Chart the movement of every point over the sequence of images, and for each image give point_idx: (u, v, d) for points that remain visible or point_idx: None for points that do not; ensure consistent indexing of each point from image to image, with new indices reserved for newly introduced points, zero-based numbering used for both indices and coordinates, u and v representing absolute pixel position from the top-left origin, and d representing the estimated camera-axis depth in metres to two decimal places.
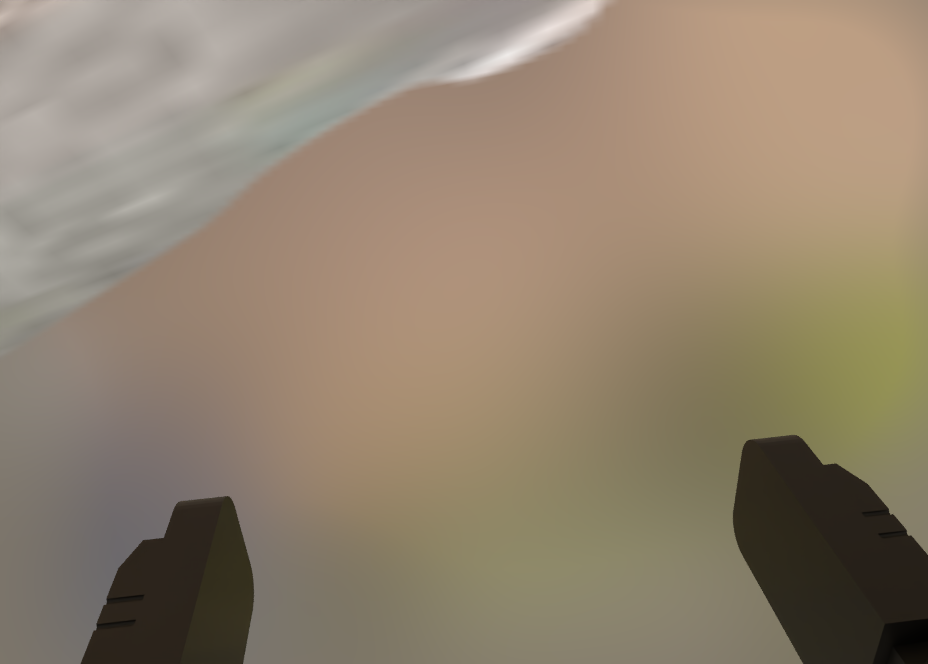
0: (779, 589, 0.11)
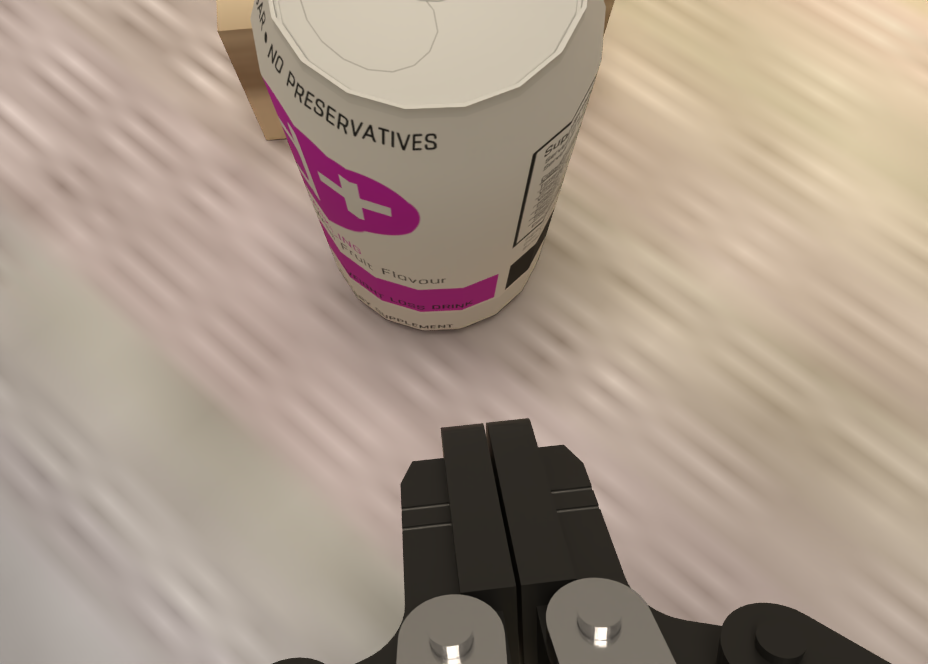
0: None
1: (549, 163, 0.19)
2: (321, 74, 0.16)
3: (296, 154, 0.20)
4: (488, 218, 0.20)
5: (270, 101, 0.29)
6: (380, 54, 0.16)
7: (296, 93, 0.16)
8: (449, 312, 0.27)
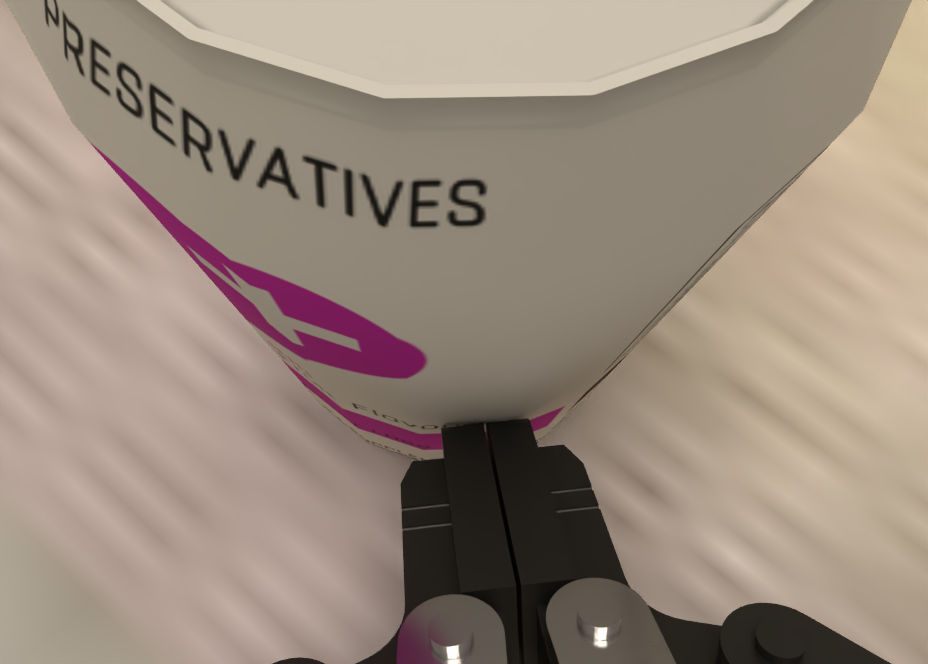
0: None
1: (735, 238, 0.08)
2: None
3: None
4: (579, 351, 0.09)
5: None
6: None
7: (65, 45, 0.05)
8: None
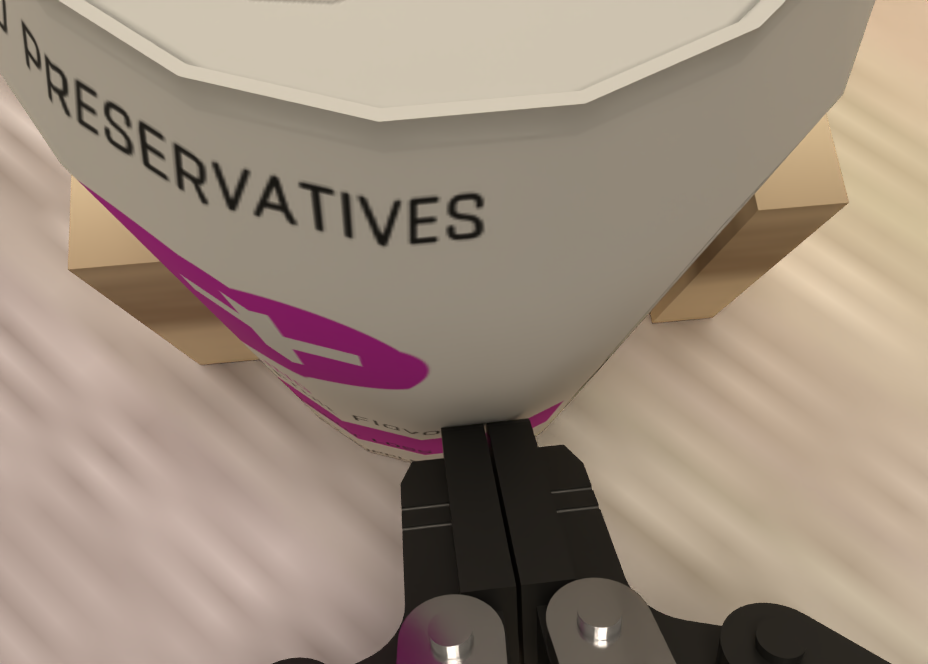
0: None
1: (724, 226, 0.08)
2: (89, 18, 0.05)
3: None
4: (579, 349, 0.09)
5: (196, 333, 0.17)
6: None
7: (49, 86, 0.05)
8: None
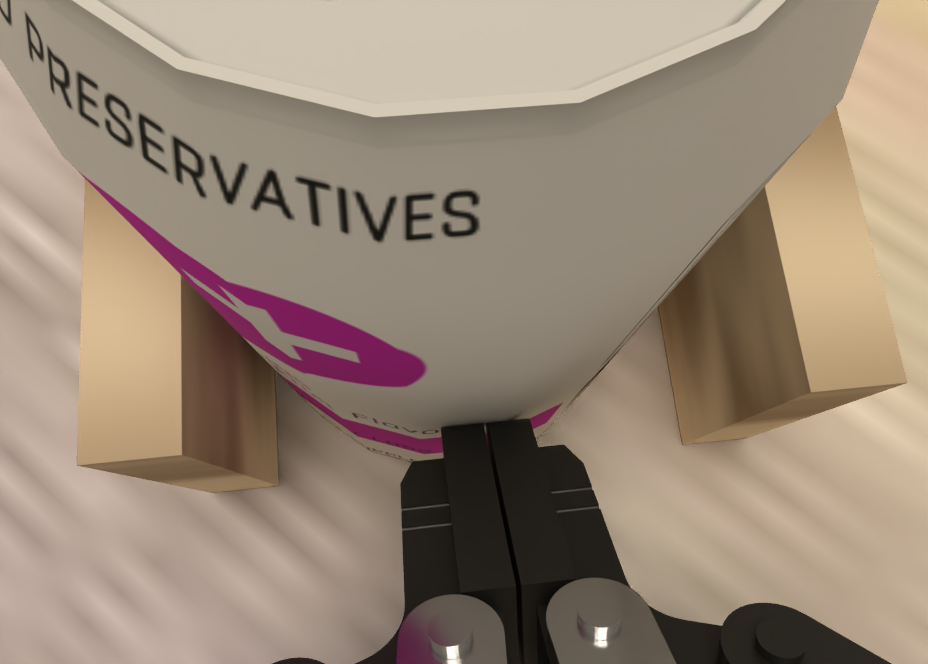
0: None
1: (723, 229, 0.08)
2: (90, 10, 0.05)
3: None
4: (577, 350, 0.09)
5: (210, 481, 0.16)
6: None
7: (51, 79, 0.06)
8: None
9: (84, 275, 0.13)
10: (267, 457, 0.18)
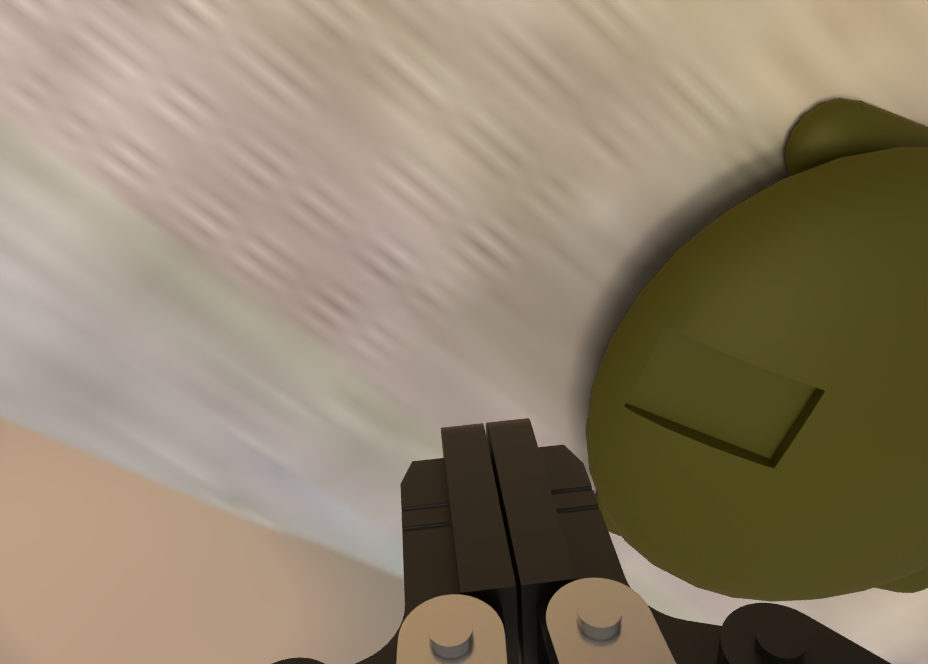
0: None
1: None
2: None
3: None
4: None
5: None
6: None
7: None
8: None
9: None
10: None
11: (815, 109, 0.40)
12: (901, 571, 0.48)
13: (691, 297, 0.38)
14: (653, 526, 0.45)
